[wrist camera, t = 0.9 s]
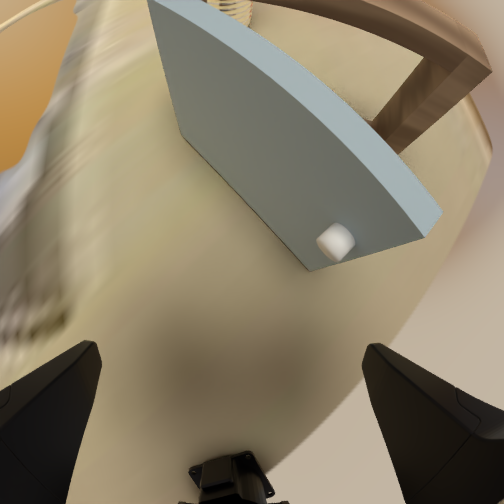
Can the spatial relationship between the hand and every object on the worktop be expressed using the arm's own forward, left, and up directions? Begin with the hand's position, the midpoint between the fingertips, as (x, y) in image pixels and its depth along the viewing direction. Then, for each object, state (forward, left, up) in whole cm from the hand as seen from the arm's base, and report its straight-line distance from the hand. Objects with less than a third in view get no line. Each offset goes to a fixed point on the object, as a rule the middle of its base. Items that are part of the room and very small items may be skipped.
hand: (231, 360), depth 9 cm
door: (+9, -5, -15) cm, 18 cm away
